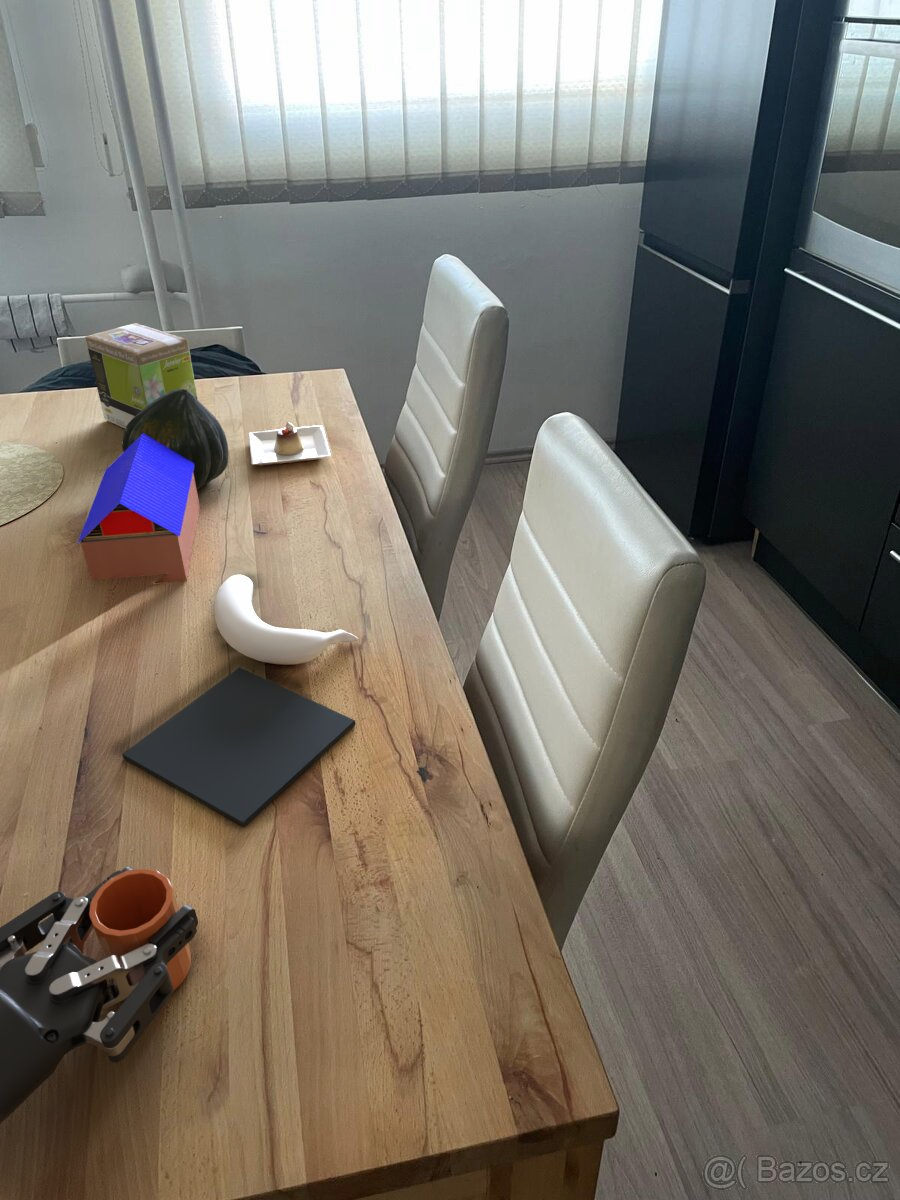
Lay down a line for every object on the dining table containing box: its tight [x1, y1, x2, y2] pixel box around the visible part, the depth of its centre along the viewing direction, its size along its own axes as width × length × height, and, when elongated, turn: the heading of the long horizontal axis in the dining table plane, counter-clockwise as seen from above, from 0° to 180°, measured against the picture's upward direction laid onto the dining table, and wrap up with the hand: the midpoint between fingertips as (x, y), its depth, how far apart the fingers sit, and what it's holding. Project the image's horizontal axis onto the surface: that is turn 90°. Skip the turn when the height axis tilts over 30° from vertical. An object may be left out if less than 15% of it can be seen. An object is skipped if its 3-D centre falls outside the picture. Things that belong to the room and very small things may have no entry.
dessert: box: [247, 421, 331, 466], centre depth 144 cm, size 12×12×5 cm
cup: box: [89, 868, 192, 991], centre depth 68 cm, size 6×6×8 cm
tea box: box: [85, 322, 199, 429], centre depth 151 cm, size 15×10×15 cm
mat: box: [122, 666, 356, 828], centre depth 90 cm, size 16×16×1 cm
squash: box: [121, 388, 230, 490], centre depth 133 cm, size 14×15×15 cm
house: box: [76, 433, 201, 585], centre depth 119 cm, size 12×20×12 cm, turn 8°
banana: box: [214, 574, 360, 666], centre depth 106 cm, size 5×19×15 cm
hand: (162, 894), depth 68 cm, fingers closed on cup, 5 cm apart
